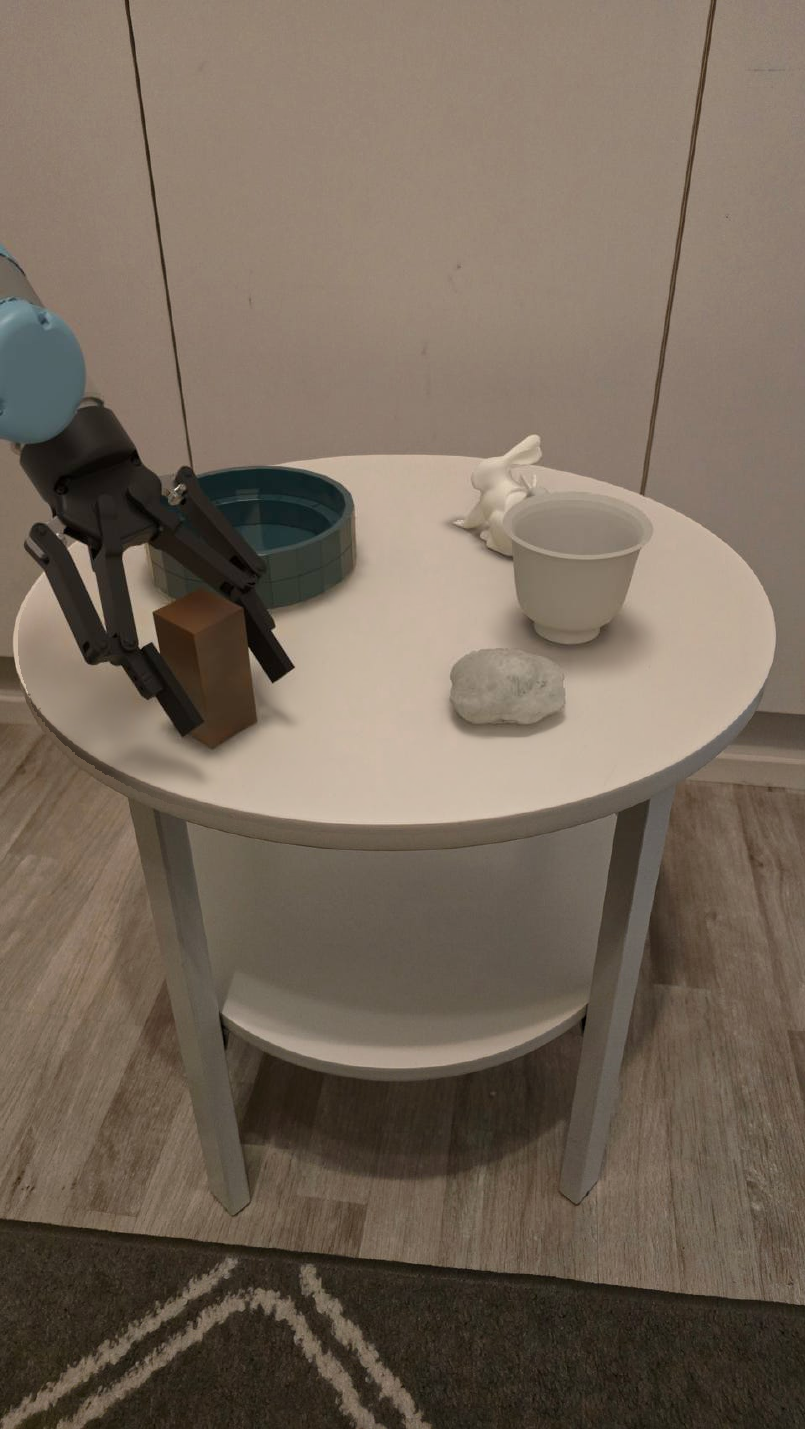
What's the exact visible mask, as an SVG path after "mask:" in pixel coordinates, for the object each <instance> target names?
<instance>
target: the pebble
mask: <svg viewBox="0 0 805 1429" xmlns="http://www.w3.org/2000/svg"><path fill="white" fill-rule="evenodd" d="M449 679H450V680H451V687H450V691H449V695H450V700H451V702H452V705H453V706H454V710H455V711H456V713H457V714H458V715H460V717H462V718H463V719H464V720H466V721H467V722H470V723H472V724H475V725H477V724H493V725H497V724H498V725H499V724H505V723H510V724H519V725H533V724H536V723H537V722H539V721H540V720H542V719H544V718H545V717H548V716H550V715H553V714H555V713H557V712H559V711H560V710H561V709H563V708H564V707H565V705H566V703H567V702H566V688H565V687H564V679H565V674H564V672H563V671H562V669H561V668H560V666H558V664H557V663H556V662H554V661H553V660H551V659H549V658H547V657H545V656H541V655H537V654H535V653H530V652H525V651H522V650H521V649H511V648H508V647H494V648H482V649H478V650H473V651H471V652H469V653H468V654H465V655H464V656H462V657H461V658H459V659H458V660H457V661H456V662H455V663H454V664H453V666H452V668H451V670H450V673H449Z"/></svg>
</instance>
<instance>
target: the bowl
mask: <svg viewBox="0 0 805 1429" xmlns="http://www.w3.org/2000/svg"><path fill="white" fill-rule="evenodd" d="M195 475H196V477H197V479H198V482H199V484H200V486H201V488H202V490H203V492H204V493H205V495H206V496H207V497H208V498H209V499H210V500H211V502H212V503H213V504H214V505H215V506H216V507H217V508H218V510H219V511H220V512H221V513H222V514H223V515H224V517H225V518H226V519H227V520H228V521H229V522H230V524H231V525H232V526H233V527H234V528H235V529H236V530H237V532H238V533H239V534H240V535H241V536H242V537H243V539H244V540H245V541H246V542H247V543H248V544H249V546H250V547H251V548H252V549H253V550H254V551H255V553H256V554H257V555H258V556H259V557H260V558H261V559H262V561H263V562H264V563H265V565H266V567H267V570H266V572H265V574H264V575H263V576H262V577H261V578H260V579H259V581H258V584H257V585H256V586H255V591H256V593H257V595H258V596H259V598H260V600H261V601H262V603H263V604H264V606H265V607H266V609H267V610H273V609H275V610H276V609H278V608H284V607H287V606H292V605H295V604H296V605H297V604H300V603H303V602H305V601H308V600H312V599H314V598H315V597H319V596H322V595H323V594H325V593H327V592H328V591H330V590H332V589H333V588H335V587H336V586H338V585H340V584H341V583H343V581H344V580H345V579H346V578H347V577H348V575H350V573H351V572H352V571H353V569H354V567H355V563H356V560H357V557H358V555H357V534H356V531H357V530H356V509H355V503H354V502H355V501H354V499H353V494H352V493H351V492H350V491H349V490H348V489H347V487H346V486H344V485H343V484H342V483H341V482H339V481H337V480H335V479H334V478H331V477H329V476H328V475H326V474H322V473H319V472H315V471H312V470H308V469H304V468H298V467H297V468H296V467H290V466H282V465H260V464H259V465H246V466H232V467H227V468H220V469H215V470H210V471H207V472H206V471H205V472H202V473H199V474H195ZM168 500H169V499H168V498H167V497H166V496H164V495H162V504H163V505H164V506H165V507H167V508H168V509H169V510H170V511H172V512H173V513H174V514H176V515H177V516H178V517H179V518H180V519H181V521H182V524H183V526H185V527H186V528H187V529H188V530H190V531H191V532H192V533H193V534H195V535H196V536H197V537H199V538H200V539H201V540H202V541H204V540H203V539H202V538H201V537H200V536H199V535H198V533H197V532H196V531H195V530H194V529H193V528H192V527H191V525H190V524H189V523H188V522H187V521H186V520H185V518H184V517H183V516H182V515H181V513H180V512H179V510H178V508H177V506H176V504H175V505H170V504H169V502H168ZM159 530H161V531H162V530H163V528H162V526H161V525H160V527H159ZM204 542H205V541H204ZM143 545H144V550H145V555H146V560H147V561H146V562H147V566H148V572H149V575H150V577H151V579H152V581H153V583H154V585H155V587H156V588H158V589H159V590H160V591H161V592H163V593H164V594H165V595H166V596H168V597H169V598H171V599H174V600H175V601H176V600H178V599H180V598H182V597H184V596H186V595H188V594H190V593H192V592H194V591H196V590H198V589H200V588H204V589H206V590H208V591H210V592H212V593H214V594H216V595H218V596H220V597H222V598H224V599H226V598H225V597H224V596H222V595H221V594H220V593H218V592H217V591H216V590H214V589H213V588H212V587H210V586H209V585H208V584H207V583H205V582H204V581H203V580H201V579H200V578H199V577H197V576H196V575H195V574H193V573H192V572H191V571H190V570H188V569H187V568H186V567H184V566H183V565H182V564H180V563H179V562H178V561H177V560H175V559H174V558H173V557H171V556H170V555H169V554H167V553H166V552H165V551H163V550H157V549H155V548H154V547H152V546H151V545H150V544H148V543H145V544H143ZM226 600H227V599H226ZM228 601H229V600H228Z"/></svg>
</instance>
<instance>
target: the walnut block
mask: <svg viewBox="0 0 805 1429" xmlns="http://www.w3.org/2000/svg"><path fill="white" fill-rule="evenodd" d="M152 618H153V623H154V630H155V634H156V640H157V644H158V649H159V650H158V652H159V653H160V655H161V656H162V658H163V659H164V661H165V662H166V664H167V665H168V667H169V668H170V670H171V671H172V673H173V674H174V676H175V677H176V679H177V680H178V682H179V683H180V685H181V686H182V688H183V690H184V691H185V693H186V694H187V696H188V697H189V699H190V700H191V702H192V703H193V705H194V706H195V708H196V709H197V711H198V712H199V714H200V715H201V717H202V718H203V720H204V721H205V722H204V723H202V724H201V725H200V726H199V727H197V728H196V729H195V730H193V731H192V732H191V733H189V734H188V735H189V736H190V737H191V738H193V739H195V740H196V741H198V742H199V743H201V744H203V745H204V746H206V747H208V748H209V749H211V750H213V749H215V748H217V747H218V746H220V745H221V744H223V743H224V742H226V741H228V740H229V739H231V738H233V737H235V736H236V735H237V734H239V733H240V732H242V731H243V730H246V729H247V728H249V727H250V726H252V725H254V724H255V723H257V722H258V716H257V708H256V706H257V705H256V700H255V692H254V684H253V677H252V676H253V675H252V666H251V660H250V659H251V658H250V651H249V650H250V649H249V647H248V642H247V634H246V626H245V618H244V610H243V607H241V606H239V605H237V604H234V603H232V602H230V601H228V600H226V599H224V598H222V597H220V596H218V595H216V594H214V593H212V592H210V591H208V590H206V589H204V588H200V589H198V590H196V591H194V592H192V593H190V594H188V595H186V596H184V597H182V598H180V599H178V600H176V599H175V600H174V601H172V602H170V603H168V604H166V605H164V606H161V607H159V608H157V609H156V610H154V611H152ZM172 725H173V726H174V724H173V723H172ZM188 735H187V736H188Z"/></svg>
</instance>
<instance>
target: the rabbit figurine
mask: <svg viewBox="0 0 805 1429" xmlns="http://www.w3.org/2000/svg"><path fill="white" fill-rule="evenodd" d="M541 441H542V440H541V437H540V435H537V434H531V435H528V436H526V438H524V439H523V440H522V441H520V442H519V443H517V444H516V445H515V446H514V447H512V448H511V449H510V450H508V451H507V452H506V453H505V454H503V455H502V456H492V457H488V458H485V459H483V460H482V461H481V462H479V463H478V464H477V465H476V467H475V468H474V470H473V471H472V473H471V476H470V481H471V485H472V488H474V489H475V490H478V491H479V492H480V496H479V501H478V502H477V503H476V505H474V507H473V509H471V511H470V512H469V513H468V515H467V516H466V517H465V519H458V520H455V521H453V522H452V523H453V524H454V525H455V526H458V527H461V528H463V529H472V528H476V527H479V526H480V525H482V524H483V523H485V522H486V521H487V522H488V529H487V528H486V529H483V530H482V531H481V532H480V535H479V538H480V539H482V540H483V541H485V542H486V547H487V548H489V549H491V550H493V551H494V552H495V551H496V552H497V553H500V554H502V555H504V556H507V557H513V550H512V542H511V538H510V537H509V536H508V534H507V533H506V532H505V530H504V528H503V518H504V516H505V514H506V513H507V511H508V510H509V509H510V508H511V507H513V506H514V505H515V504H517V503H518V502H520V501H522V500H524V499H525V497H526V494H527V492H528V491H529V490H530V489H531V488H533V487H537V484H538V479H537V475H536V474H535V473H534V474H532V475H531V478H532V482H531V484H530V483H529V481H528V480H527V479H526V478H525V477H524V475H523V474H522V473H521V474H519V477H518V479H519V481H518V480H516V479H515V478H514V477H513V475H512V469H517V468H520V467H526V466H530V465H533V464H536V463H537V462H539V460H540V458H542V457H543V452H542V449H541V447H539V446H540V445H541Z"/></svg>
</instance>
